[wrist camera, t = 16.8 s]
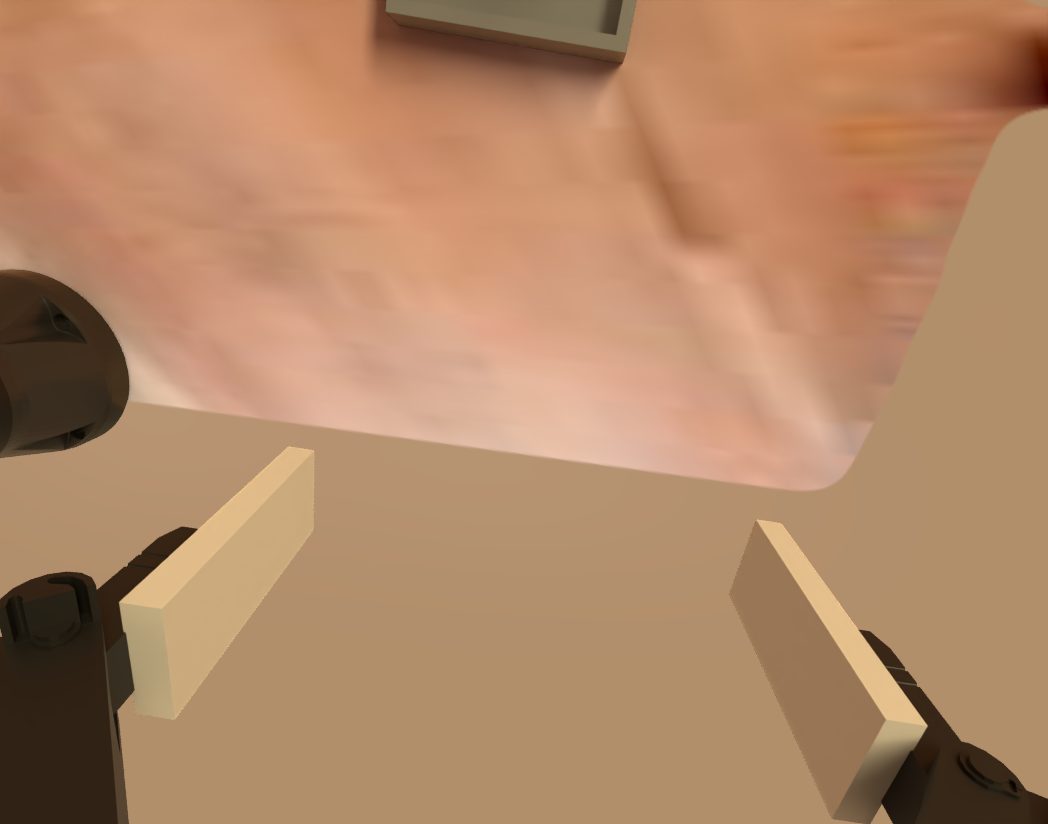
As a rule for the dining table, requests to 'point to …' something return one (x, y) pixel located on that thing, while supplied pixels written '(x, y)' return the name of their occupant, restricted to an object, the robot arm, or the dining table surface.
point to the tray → (528, 23)
